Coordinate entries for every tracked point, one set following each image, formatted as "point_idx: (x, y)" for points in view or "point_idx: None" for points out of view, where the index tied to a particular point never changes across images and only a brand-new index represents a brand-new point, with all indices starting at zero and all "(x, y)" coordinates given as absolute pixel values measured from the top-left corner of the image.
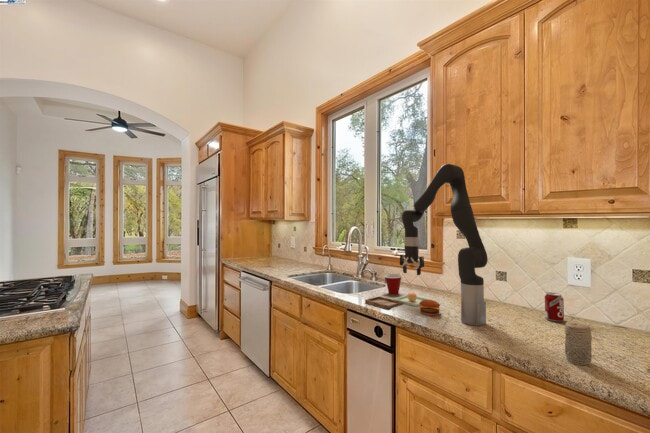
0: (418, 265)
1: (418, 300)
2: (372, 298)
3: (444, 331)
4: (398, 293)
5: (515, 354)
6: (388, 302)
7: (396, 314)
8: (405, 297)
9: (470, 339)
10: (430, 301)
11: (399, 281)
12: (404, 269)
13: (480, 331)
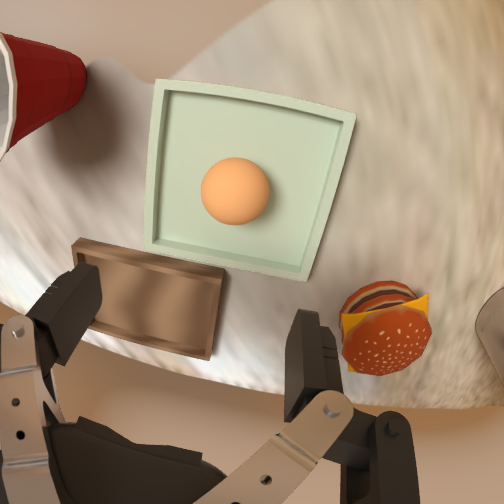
0: (297, 436)
1: (266, 134)
2: None
3: (417, 402)
4: (82, 65)
5: (501, 400)
6: (152, 281)
7: (265, 376)
8: (163, 128)
9: (459, 401)
10: (397, 366)
11: (35, 83)
12: (79, 338)
13: None
